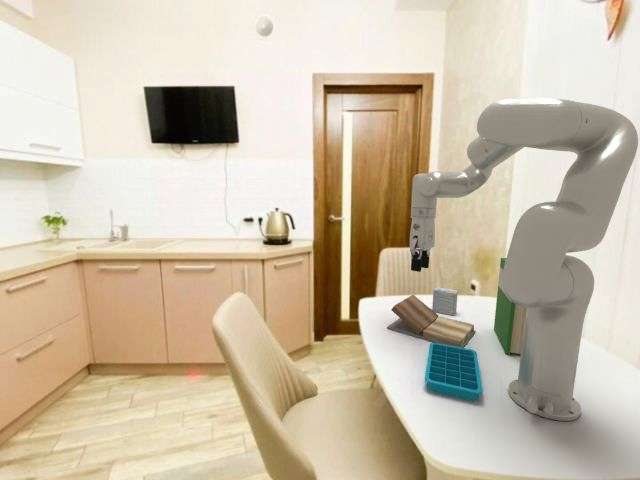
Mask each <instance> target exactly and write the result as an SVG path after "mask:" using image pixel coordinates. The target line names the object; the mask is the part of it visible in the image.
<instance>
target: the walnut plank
mask: <svg viewBox="0 0 640 480" xmlns="http://www.w3.org/2000/svg"><path fill="white" fill-rule="evenodd" d="M391 311H392V312H393V313H394V314H395V315H396V316H398V318H401V319H402V320H403V321H404V322H405V323H406V324H407V325H408V326H410V327H411V328H412V329H413V330H414V331H415V332H416V333H417V334H420V333H421V332H423V331H424V330H425V329H426V328H427V327H428V326H429V325H431V324H432V323H433V322H434V321H435V320H436V319H437V318H439V317H440V316H439V314H437V312H434V311H433V310H432V308H430V306H428V305H426V303H424V302H422V300H421V299H420V298H418V297H417V296H416V295H415V294H411V295H410V296H408V297H407V298H404V299H403V300H401V301H399V302H398V303H396V304H395V305H393V306H392V309H391Z"/></svg>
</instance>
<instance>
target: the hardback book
mask: <svg viewBox="0 0 640 480" xmlns="http://www.w3.org/2000/svg"><path fill="white" fill-rule="evenodd" d="M506 258H507V257H500V263H499V271H498V272H499V274H498V284H497V293H496V294H497V295H496V303H495V311H494V323H493V331H494V333H495V336H496V337H497V339H498V341H499V344H500V346H501V348H502V350H503V352H504V354H505V355H506V356H509V357H510V355H511V354H517V355H521V347H522V339H523V330H524V322H525V316H526V312H527V307H522V306H519V305H517V304H515V303H513V302H512V301H511V300H510V299H509V298H508V297H507V295H506V294H505V292H504V289H503V285H502V274H503V269H504V265H505V261H506Z"/></svg>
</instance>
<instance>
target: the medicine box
mask: <svg viewBox="0 0 640 480" xmlns="http://www.w3.org/2000/svg"><path fill="white" fill-rule="evenodd" d="M432 292H433V293H432V307H431V310H433V311H434V312H435V313H438V314H444V315H449V316H456V313H457V308H458V294H459V293H458V292H459V291H458V290H456V289H452V288H451V289H450V288H445V287H435V288H434V289H433V290H432Z"/></svg>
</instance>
